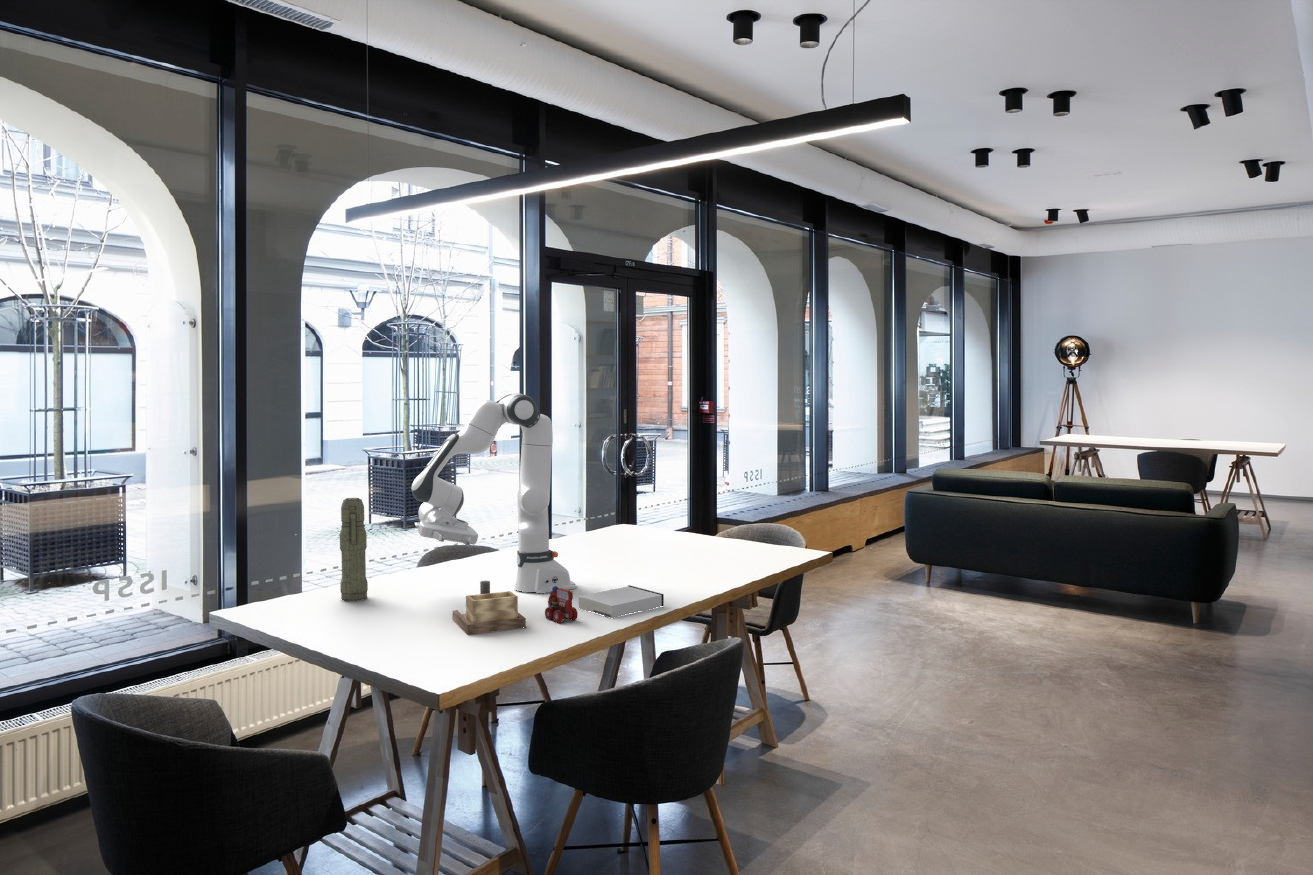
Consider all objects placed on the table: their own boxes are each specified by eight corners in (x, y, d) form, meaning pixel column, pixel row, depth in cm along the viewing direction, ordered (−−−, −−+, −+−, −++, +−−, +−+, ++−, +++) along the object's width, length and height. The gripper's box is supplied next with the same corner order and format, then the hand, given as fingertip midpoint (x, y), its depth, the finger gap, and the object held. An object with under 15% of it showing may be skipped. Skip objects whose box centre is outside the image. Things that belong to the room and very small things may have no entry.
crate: (505, 612, 287) (505, 578, 286) (517, 622, 275) (517, 586, 275) (462, 617, 281) (461, 582, 280) (472, 627, 269) (472, 591, 269)
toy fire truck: (559, 614, 292) (559, 582, 291) (580, 622, 282) (580, 589, 281) (541, 617, 287) (540, 585, 287) (562, 625, 278) (561, 592, 277)
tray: (507, 613, 292) (507, 604, 292) (525, 627, 275) (525, 617, 275) (452, 619, 284) (452, 610, 284) (467, 634, 267) (467, 624, 267)
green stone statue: (343, 603, 305) (341, 501, 303) (338, 596, 316) (336, 497, 314) (370, 600, 309) (368, 499, 307) (364, 593, 320) (362, 496, 318)
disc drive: (663, 608, 301) (663, 593, 301) (611, 620, 286) (611, 604, 285) (629, 599, 314) (629, 585, 314) (578, 610, 299) (578, 595, 298)
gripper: (416, 513, 301) (428, 527, 290) (471, 522, 313) (486, 537, 301) (410, 530, 302) (423, 545, 290) (466, 539, 313) (480, 554, 302)
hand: (455, 541), depth 296 cm, fingers open, 8 cm apart
